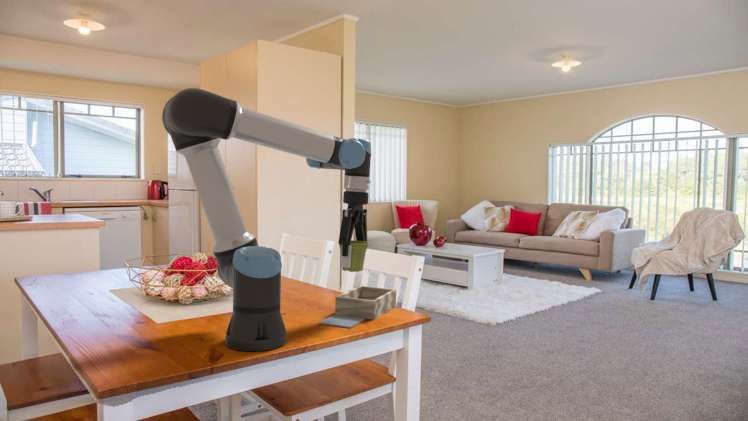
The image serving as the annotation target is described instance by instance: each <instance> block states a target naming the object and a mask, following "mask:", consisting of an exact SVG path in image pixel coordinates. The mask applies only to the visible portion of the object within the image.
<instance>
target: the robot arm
mask: <svg viewBox="0 0 748 421" xmlns="http://www.w3.org/2000/svg"><path fill="white" fill-rule="evenodd" d="M161 117H162V118H161V120H162V125H163V128H164V129H165V130H166V132H167V134H169V136H170V138H171V141H172V144H173V146H174V148H175V153H177V154H179V155H182V156H183V157H184V158H185V160H186V164H187V166H188V170H189V173H190V175H191V178H192V180H193V183H194V185H195V188H196V191H197V194H198V196H199V199H200V201H201V205H202V208H203V210H204V213H205V215H206V218H207V221H208V224H209V226H210V230H211V232H212V235H213V238H214V240H215V244H214V246H213V248H212V252H213V254H214V258H215V260H216V268H217V273H218V276H219V278H220V279H221V281H222V282H223V283H224V284H225V285H227V286H228V287H229V288H231V289H232V314H231V317H230V319H229V320H230V321H229V323H228V326H227V329H226V332H225V336H224V337H225V339H224V341H225V342H224V343H225V346H226V347H227V348H229V349H232V350H235V351H243V352H262V351H270V350H274V349H278V348H279V347H283V346H284V345H286V344H287V343H288V331H287V329H286V325H285V323H284V322H285V321H284V318H283V316H282V311H281V299H282V298H281V296H282V294H281V292H282V268H283V264H282V258H281V254H280V252H279V251H278V250H276V249H275V248H272V247H267V246H260V245H259V243H258V241H257V238H256V235H255V234H253V233H251V232H249V231H248V230H247V227H246V224H245V221H244V218H243V215H242V213H241V209H240V207H239V204H238V201H237V198H236V195H235V193H234V190H233V187H232V184H231V181H230V178H229V175H228V173H227V170H226V167H225V164H224V161H223V159H222V155H221V153H220V150H219V144H220V143H221V140H226V141H228V140H230V139H231V138H233V139H237V140H241V141H245V142H248V143H251V144H255V145H259V146H262V147H266V148H269V149H274V150H276V151H280V152H284V153H288V154H291V155H295V156H299V157H303V158H305V160H306V164H307V165H308V167H310V168H313V169H325V170H341V171H344V178H343V180H344V181H343V189H344V192H343V194H342V195H343V198H342V200H343V201H342V202H343V204H347V208H346V209H344V208H343V209H342V217H341V223H340V231H339V236H338V241H339V243H338V245H342V255H341V254H340V256H341V257H340V260H341V261H340V268H342V267H345V268H350V265H351V247H352V245H350V243H351V240H352V238H353V234H354V232H355V241H365V242H368V226H367V225H368V224H367V223H368V220H367V213H368V209H367V208H364V206H365V205H368V204H369V195H370V194H369V192H368V191H369V190H370V189H369V188H370V187H369V186H370V184H371V180H370V172H371V158H372V143H371V141H370V140H368V139H366V138H365V139H364V138H354V137H353V138H348V139H346V138H345V139H344V138H341V137H338V136H335V135H331V134H328V133H325V132H322V131H319V130H317V129H316V130H315V129H312V128H310V127H306V126H303V125H299V124H296V123H293V122H290V121H287V120H284V119H280V118H276V117H273V116H271V115H267V114H264V113H261V112H258V111H255V110H251V109H248V108H245V107H241V105H240V104H239V102H238V100H233V99H231V98H227V97H225V96H222V95H220V94H216V93H214V92H211V91H208V90H205V89H201V88H195V87H193V88H192V87H189V88H183V89H181V90H180V91H178V92H176V94H174V95H173V96H172V97H171V98H169V100H168V101H167V102H166V103H165V104H164V107H163V109H162V116H161Z"/></svg>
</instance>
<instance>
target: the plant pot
mask: <svg viewBox="0 0 748 421" xmlns="http://www.w3.org/2000/svg"><path fill="white" fill-rule="evenodd" d="M337 243H338V245H339V240H338V241H337ZM350 245H352V247H351V265H350V268H345V267H341V268H342V269H341V270H342V271H344V272H347V271H348V272H351V273H353V272H354V273H355V272H356V273H358V272H362V271H363V269H364V264H365V258H366V253H367V250H368V246H369V245H370V242H369V241H367V242H365V241H356V240H352V239H351V243H350ZM339 248H340V256H341V255H342V245H339Z"/></svg>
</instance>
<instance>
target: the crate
mask: <svg viewBox="0 0 748 421" xmlns="http://www.w3.org/2000/svg"><path fill="white" fill-rule="evenodd" d="M334 299H335V303H334V304H335V305H334V306H335V307H334V308H335V310H334V315H342V316H349V317H357V318H366V319H367V320H373V319H375V320H376V319H378V318H379V316H380V315H381V316H383V315H384V314H386V313H387V312H389V311H390V309H391V310H393V309H394V308H396V306H397V289H394V288H383V287H374V286H373V287H372V286H365V285H359V286H357V287H354V288H353V289H350V290H348V291H345V292H343V293H341V294H339V295H336V296H335V298H334ZM388 310H389V311H388ZM385 312H386V313H385ZM383 313H384V314H383ZM382 314H383V315H382ZM381 316H380V317H381ZM377 317H378V318H377ZM366 319H365V320H366Z"/></svg>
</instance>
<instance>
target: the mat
mask: <svg viewBox="0 0 748 421" xmlns="http://www.w3.org/2000/svg"><path fill="white" fill-rule="evenodd" d="M365 320H366V319H365V318H358V317H350V316H342V315H335V314H333V315H331V316H329V317H327V318H325V319H323V320H321V321H320V322H318V324H319V325H324V326H332V327H337V328H338V327H340V328H346V329H352V328H354V327H355V326H357V325H359V324H361V323H363V321H365Z"/></svg>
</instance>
